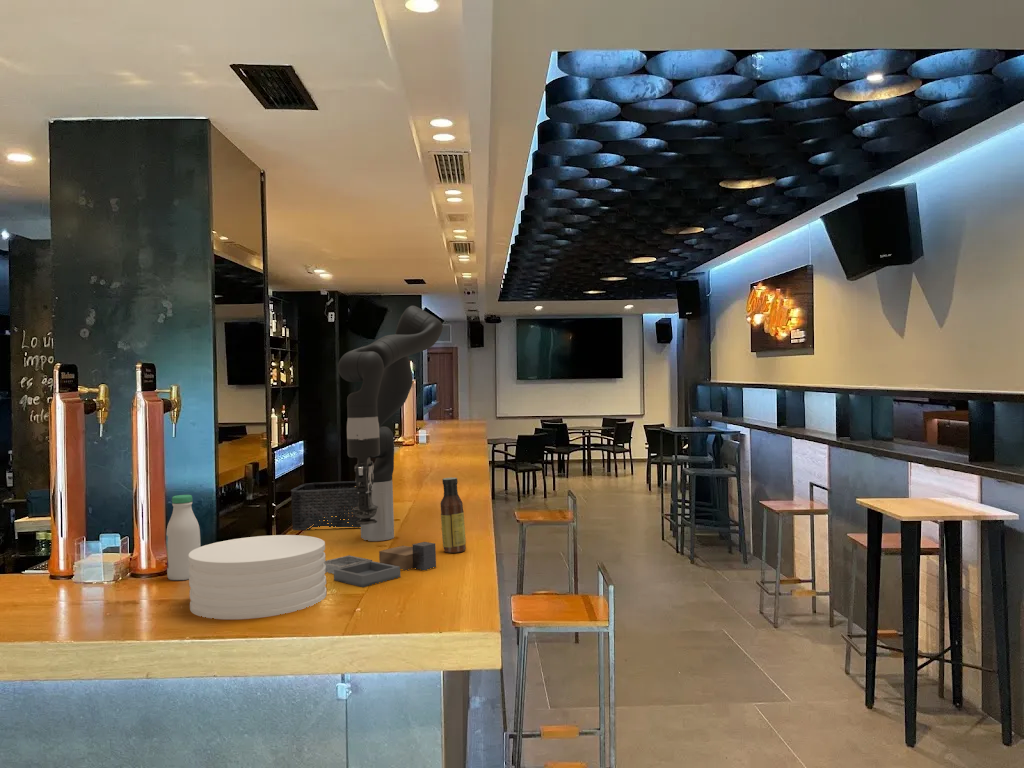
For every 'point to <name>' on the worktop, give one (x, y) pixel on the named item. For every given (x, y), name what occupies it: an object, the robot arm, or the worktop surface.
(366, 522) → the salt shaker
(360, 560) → the holder
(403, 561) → the brown rectangular block
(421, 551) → the block
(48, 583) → the worktop surface
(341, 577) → the tray
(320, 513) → the storage bin
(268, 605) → the plate stack
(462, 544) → the sauce bottle
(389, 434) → the robot arm
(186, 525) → the milk bottle
